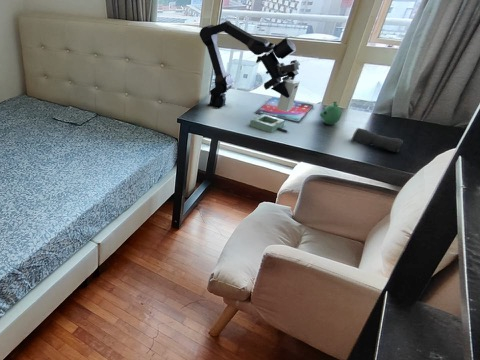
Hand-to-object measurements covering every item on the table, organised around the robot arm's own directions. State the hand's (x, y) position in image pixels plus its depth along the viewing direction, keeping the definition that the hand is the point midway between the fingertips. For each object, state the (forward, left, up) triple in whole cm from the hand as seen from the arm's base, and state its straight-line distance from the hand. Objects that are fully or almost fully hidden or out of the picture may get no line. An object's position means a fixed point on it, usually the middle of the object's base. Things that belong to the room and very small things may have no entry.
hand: (291, 96), depth 159 cm
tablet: (-6, +15, -12) cm, 20 cm away
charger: (-1, 0, -6) cm, 7 cm away
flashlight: (+34, 0, -13) cm, 36 cm away
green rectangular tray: (-2, -9, -12) cm, 16 cm away
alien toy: (+14, +11, -13) cm, 22 cm away
